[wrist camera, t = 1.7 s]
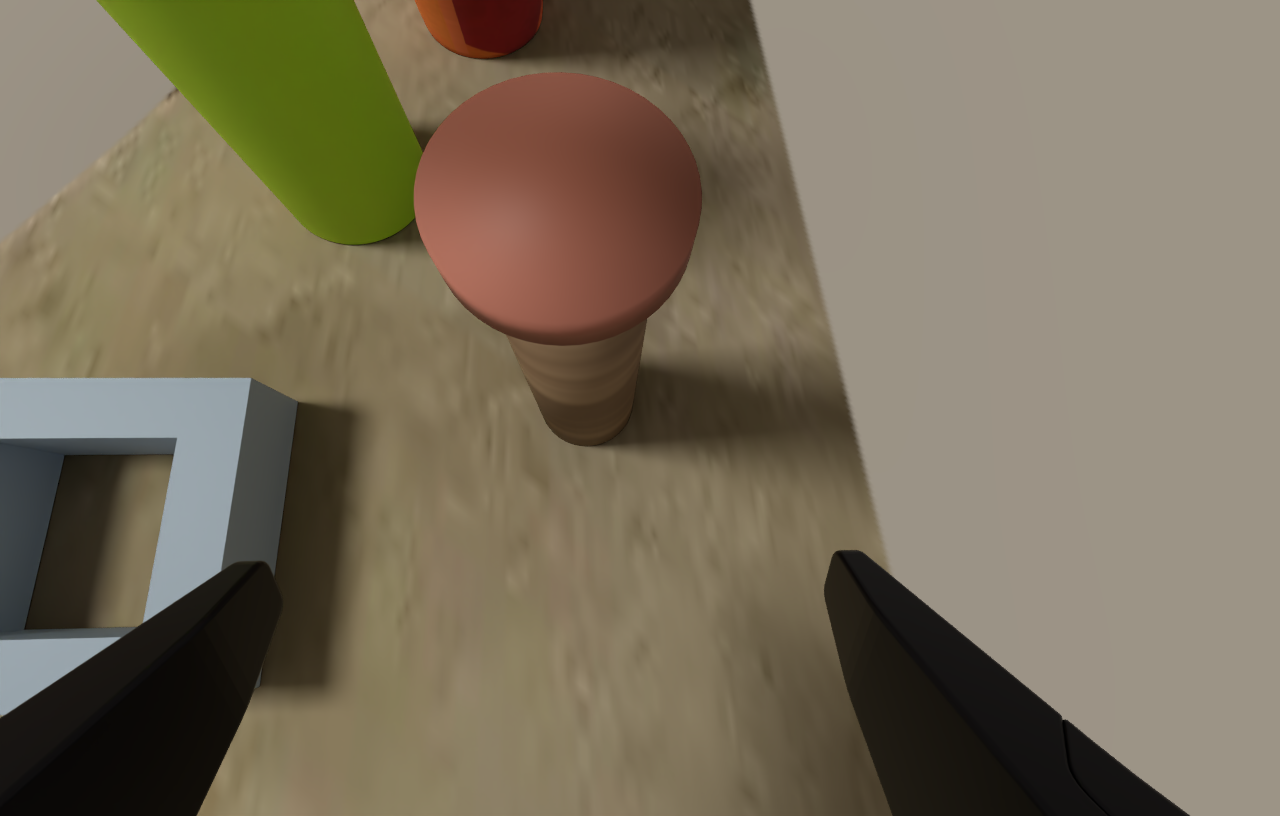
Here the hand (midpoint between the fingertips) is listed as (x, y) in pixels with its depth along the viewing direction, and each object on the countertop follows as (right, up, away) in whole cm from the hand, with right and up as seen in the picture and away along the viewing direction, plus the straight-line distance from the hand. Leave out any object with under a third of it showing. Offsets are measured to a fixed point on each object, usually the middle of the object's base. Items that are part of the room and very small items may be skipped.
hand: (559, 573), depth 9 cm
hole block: (-17, -2, +11) cm, 20 cm away
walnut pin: (-1, +3, +13) cm, 14 cm away
